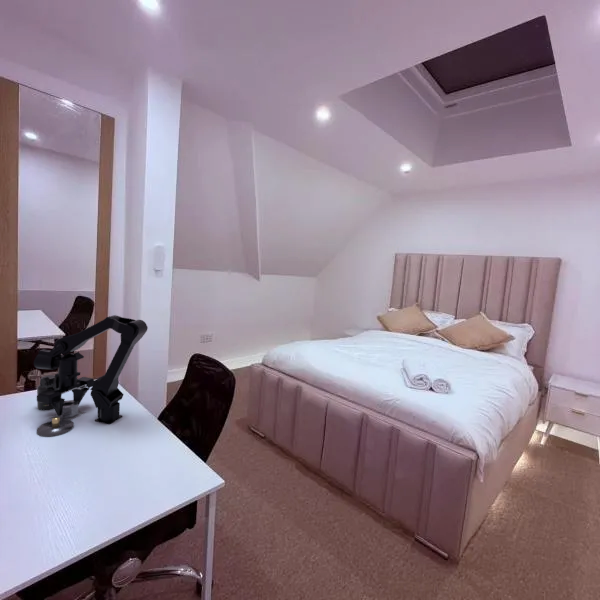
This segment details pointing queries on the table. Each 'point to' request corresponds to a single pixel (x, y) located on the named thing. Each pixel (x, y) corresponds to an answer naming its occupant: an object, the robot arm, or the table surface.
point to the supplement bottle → (39, 389)
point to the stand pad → (71, 417)
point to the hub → (55, 427)
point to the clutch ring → (69, 409)
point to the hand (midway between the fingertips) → (67, 411)
